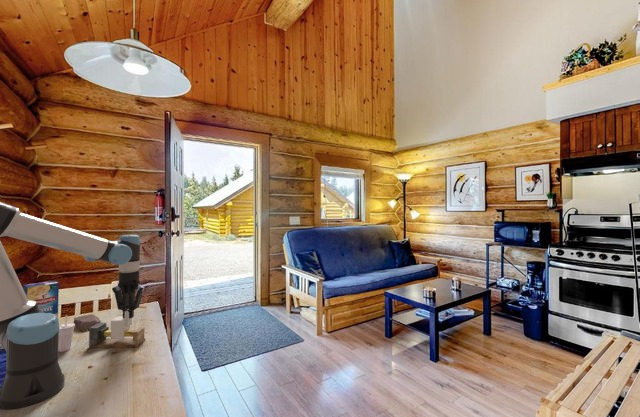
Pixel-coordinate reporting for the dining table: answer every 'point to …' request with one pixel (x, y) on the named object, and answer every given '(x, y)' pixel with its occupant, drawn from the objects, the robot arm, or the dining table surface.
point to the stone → (86, 322)
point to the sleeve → (118, 328)
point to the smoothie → (65, 336)
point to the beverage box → (44, 296)
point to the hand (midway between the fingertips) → (128, 325)
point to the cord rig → (101, 332)
